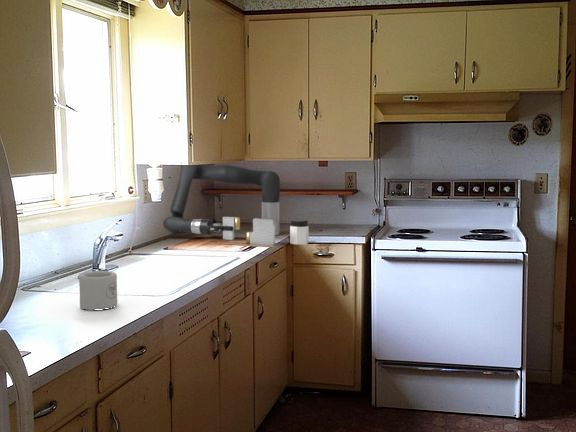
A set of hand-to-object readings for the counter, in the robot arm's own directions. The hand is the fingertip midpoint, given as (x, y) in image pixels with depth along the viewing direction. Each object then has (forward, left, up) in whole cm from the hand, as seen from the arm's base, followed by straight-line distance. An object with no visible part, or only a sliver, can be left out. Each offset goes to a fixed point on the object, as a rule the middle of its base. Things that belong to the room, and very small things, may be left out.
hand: (234, 228), depth 336 cm
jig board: (+11, +14, -7) cm, 19 cm away
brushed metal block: (0, -1, -7) cm, 7 cm away
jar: (0, +34, -7) cm, 34 cm away
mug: (+133, +16, -7) cm, 134 cm away
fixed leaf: (+11, +18, -5) cm, 22 cm away
